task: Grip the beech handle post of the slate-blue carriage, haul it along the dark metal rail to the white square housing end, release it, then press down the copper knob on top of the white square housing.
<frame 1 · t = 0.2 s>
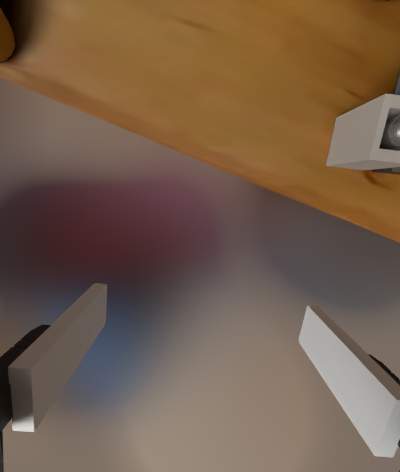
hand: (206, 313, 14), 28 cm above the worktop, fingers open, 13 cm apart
white square housing: (350, 144, 39), on the worktop
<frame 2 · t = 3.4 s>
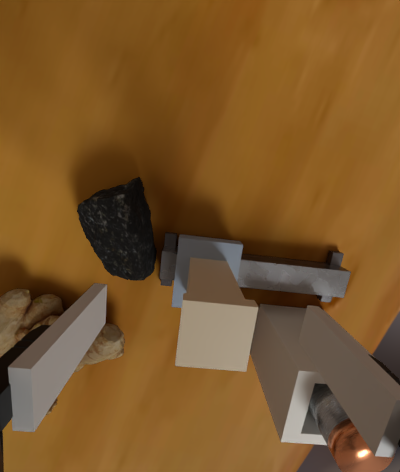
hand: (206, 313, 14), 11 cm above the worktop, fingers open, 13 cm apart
rock: (129, 228, 25), on the worktop
carriage: (208, 287, 19), point 7 cm above the worktop, slide at -5.4 cm
ginger root: (50, 334, 27), on the worktop
white square housing: (286, 332, 28), on the worktop
rail: (250, 266, 26), on the worktop
copper knob: (337, 411, 18), point 10 cm above the worktop, slide at 0.0 cm
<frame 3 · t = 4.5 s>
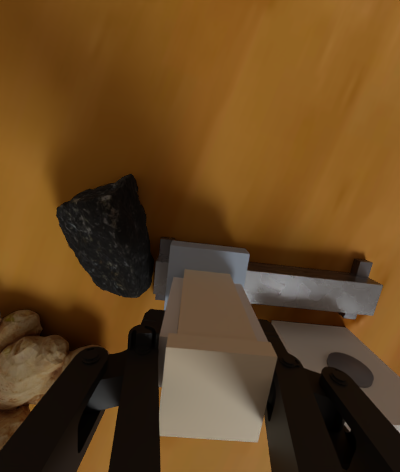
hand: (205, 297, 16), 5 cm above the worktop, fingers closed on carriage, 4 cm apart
rock: (122, 235, 21), on the worktop
carriage: (206, 309, 15), point 7 cm above the worktop, slide at -5.8 cm, touching gripper, rail
ginger root: (28, 354, 23), on the worktop
white square housing: (301, 352, 24), on the worktop
rail: (260, 277, 22), on the worktop
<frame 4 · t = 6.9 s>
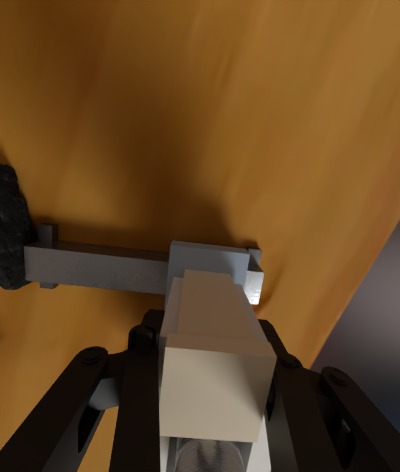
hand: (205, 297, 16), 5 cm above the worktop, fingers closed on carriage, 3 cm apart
rock: (10, 227, 21), on the worktop
carriage: (206, 309, 15), point 7 cm above the worktop, slide at 5.0 cm, touching gripper
white square housing: (202, 343, 23), on the worktop
rail: (151, 266, 21), on the worktop
copper knob: (208, 458, 13), point 10 cm above the worktop, slide at 0.0 cm
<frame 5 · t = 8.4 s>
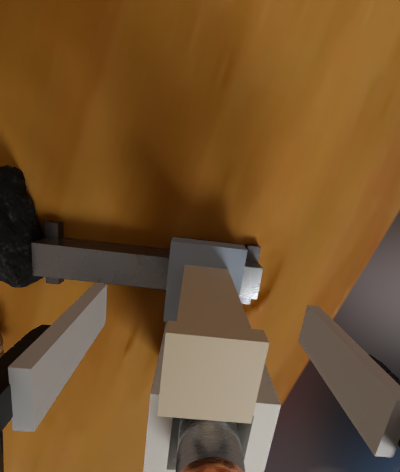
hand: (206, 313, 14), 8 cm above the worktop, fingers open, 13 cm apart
rock: (17, 227, 21), on the worktop
carriage: (205, 302, 16), point 7 cm above the worktop, slide at 4.8 cm
white square housing: (203, 338, 24), on the worktop
rail: (153, 262, 22), on the worktop
copper knob: (208, 443, 14), point 10 cm above the worktop, slide at 0.0 cm
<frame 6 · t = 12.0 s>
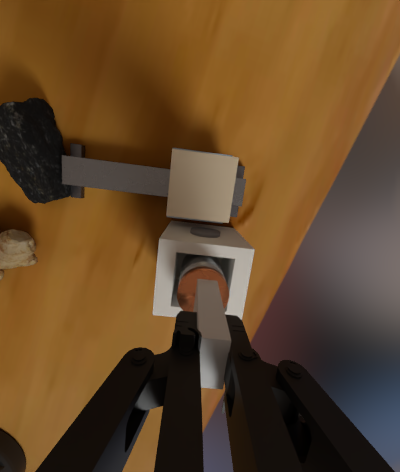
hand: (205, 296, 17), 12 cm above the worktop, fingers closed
rock: (47, 157, 26), on the worktop
carriage: (199, 187, 20), point 7 cm above the worktop, slide at 4.8 cm
white square housing: (199, 250, 29), on the worktop
rail: (158, 182, 27), on the worktop
copper knob: (201, 279, 20), point 9 cm above the worktop, slide at 0.8 cm, touching gripper
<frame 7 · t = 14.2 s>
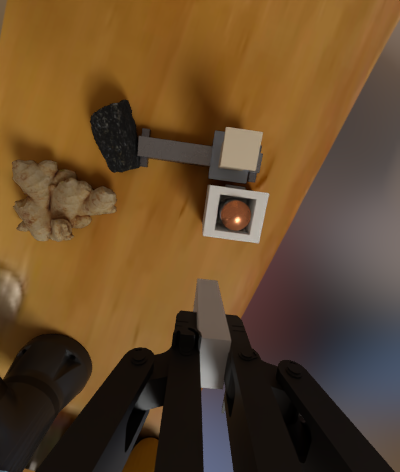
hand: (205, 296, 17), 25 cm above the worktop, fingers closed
rock: (123, 140, 38), on the worktop
carriage: (233, 155, 32), point 7 cm above the worktop, slide at 4.8 cm
apple: (150, 444, 54), on the worktop
ginger root: (68, 204, 40), on the worktop
white square housing: (226, 207, 40), on the worktop
rail: (200, 156, 38), on the worktop
copper knob: (232, 212, 32), point 8 cm above the worktop, slide at 2.2 cm
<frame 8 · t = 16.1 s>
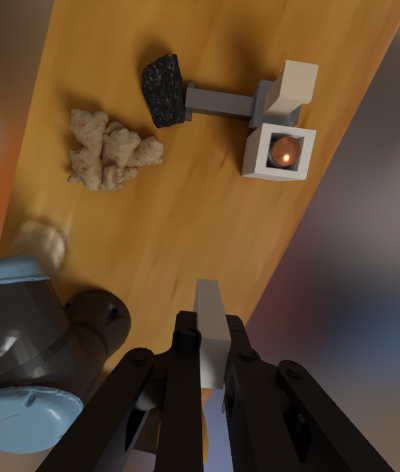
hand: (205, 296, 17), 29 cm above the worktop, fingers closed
rock: (168, 97, 40), on the worktop
carriage: (279, 100, 34), point 7 cm above the worktop, slide at 4.8 cm
ginger root: (114, 159, 42), on the worktop
white square housing: (264, 159, 43), on the worktop
rail: (240, 110, 41), on the worktop
copper knob: (279, 154, 35), point 8 cm above the worktop, slide at 2.2 cm
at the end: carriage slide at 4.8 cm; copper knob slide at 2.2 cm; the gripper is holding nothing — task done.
